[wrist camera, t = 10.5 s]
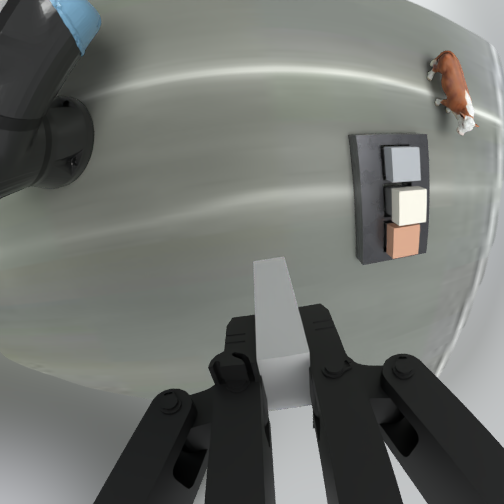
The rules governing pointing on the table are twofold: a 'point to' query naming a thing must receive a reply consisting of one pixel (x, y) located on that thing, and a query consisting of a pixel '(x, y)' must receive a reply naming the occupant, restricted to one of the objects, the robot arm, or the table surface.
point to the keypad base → (380, 191)
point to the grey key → (401, 163)
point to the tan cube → (401, 239)
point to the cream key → (406, 204)
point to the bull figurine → (454, 90)
